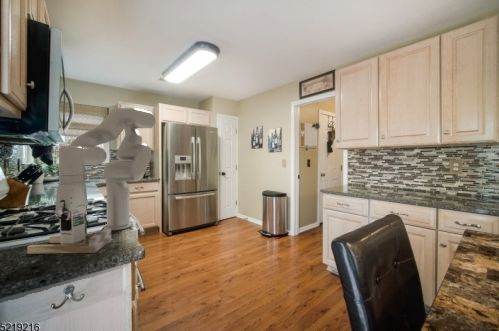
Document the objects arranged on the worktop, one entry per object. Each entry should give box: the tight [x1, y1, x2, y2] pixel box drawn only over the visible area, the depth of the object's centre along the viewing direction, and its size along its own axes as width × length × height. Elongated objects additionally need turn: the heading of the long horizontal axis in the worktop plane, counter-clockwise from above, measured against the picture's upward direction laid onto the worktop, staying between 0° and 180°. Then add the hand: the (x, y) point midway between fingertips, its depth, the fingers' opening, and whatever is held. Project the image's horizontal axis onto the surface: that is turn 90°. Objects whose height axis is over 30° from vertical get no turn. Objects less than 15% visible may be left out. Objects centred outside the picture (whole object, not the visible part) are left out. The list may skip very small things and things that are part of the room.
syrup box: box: [59, 205, 88, 244], centre depth 84 cm, size 6×6×14 cm
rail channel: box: [26, 229, 112, 255], centre depth 84 cm, size 11×22×5 cm, turn 95°
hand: (73, 226), depth 84 cm, fingers closed on syrup box, 6 cm apart
